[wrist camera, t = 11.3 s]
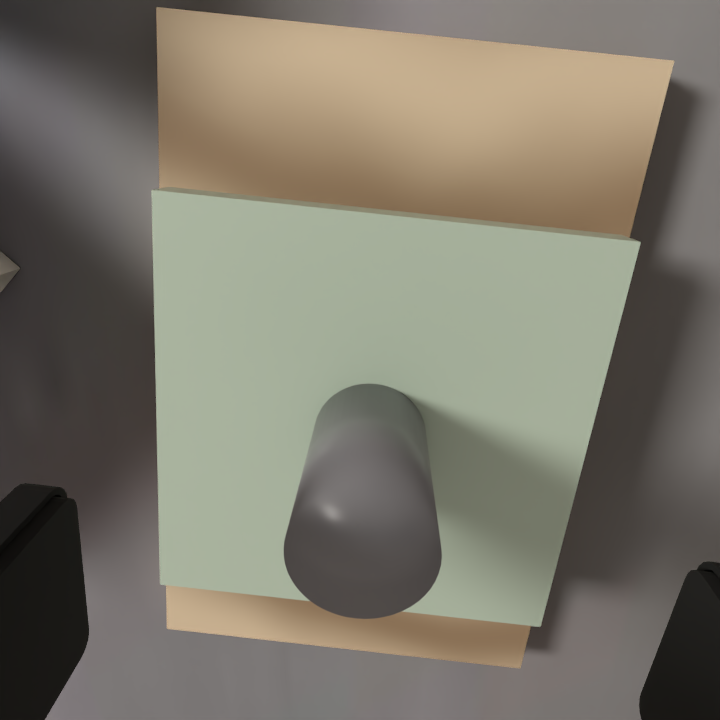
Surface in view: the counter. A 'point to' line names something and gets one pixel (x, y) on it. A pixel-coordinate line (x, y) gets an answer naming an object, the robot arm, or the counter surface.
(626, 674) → the counter surface
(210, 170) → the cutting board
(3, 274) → the storage box
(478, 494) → the lid
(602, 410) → the counter surface
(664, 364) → the counter surface
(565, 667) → the counter surface
